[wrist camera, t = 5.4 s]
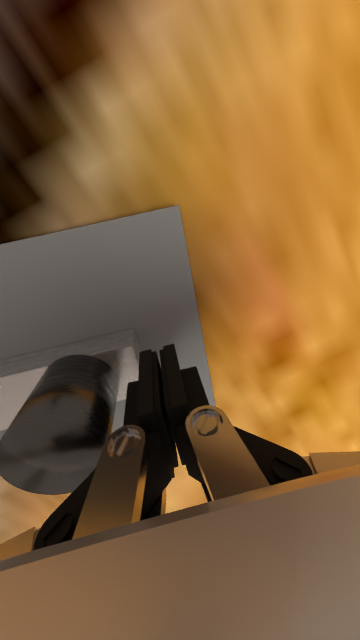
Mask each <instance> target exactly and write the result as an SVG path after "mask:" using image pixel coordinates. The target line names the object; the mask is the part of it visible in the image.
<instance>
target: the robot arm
mask: <svg viewBox="0 0 360 640" xmlns="http://www.w3.org/2000/svg"><path fill="white" fill-rule="evenodd" d="M159 352H160V362H161V366H160V363H159V359H158V356H157V352H156V351H154V352H152V350H151V349H149V350H145V351H141V352H140V353H139V374H138V380H137V381H133V382H129V383H128V385H127V394H126V403H125V413H124V422H123V426H122V427H120V428H119V429H117V430H115V431H114V432H113V433H112V434H111V435H110V436H109V437H108V438H107V440H106V442H105V444H104V446H103V449H102V452H101V455H100V458H99V461H98V464H97V467H96V468H95V470H94V471H93V472H92V473H91V474H90V475H89V476H88V477H87V478H86V479H85V480H84V481H83V482H82V483H81V484H80V485H79V486H78V487H77V488H76V489H75V490H74V491H73V492H72V493H71V494H70V496H69V497H68V498H67V499H66V500H65V501H64V502H63V503H62V504H61V505H60V506H59V507H58V508H57V509H56V510H55V511H54V512H53V513H52V514H51V515H50V516H49V518H48V519H47V520H46V521H45V522H44V524H43V525H42V527H41V528H39V529H37V528H36V527H33V528H31V529H29V530H27V531H25V532H23V533H21V534H19V535H17V536H15V537H14V538H12V539H10V540H8V541H6V542H4V543H2V544H0V640H360V452H325V453H309V456H306V457H301V456H300V455H298V454H296V453H295V452H293V451H291V450H288V449H286V448H284V447H281V446H279V445H277V444H274V443H272V442H270V441H267V440H265V439H263V438H260V437H258V436H255V435H253V434H251V433H248V432H246V431H244V430H241V429H239V428H237V427H234V426H233V425H232V424H231V422H230V420H229V419H228V417H227V416H226V414H225V413H224V412H223V411H222V410H221V409H219V408H218V407H215V406H211V405H209V402H208V399H207V396H206V393H205V390H204V387H203V384H202V381H201V379H200V376H199V373H198V370H197V367H196V366H194V367H190V368H186V369H182V370H180V366H179V362H178V358H177V354H176V350H175V346H174V344H170V345H166V346H163V349H162V350H159ZM175 443H176V444H175ZM176 446H177V449H178V453H179V456H180V459H181V463H182V465H186V467H187V471H188V474H189V475H190V476H191V477H193V478H195V479H196V480H198V481H199V482H200V483H201V487H202V490H203V493H204V495H205V498H206V501H207V503H204V504H200V505H196V506H193V507H189V508H185V509H182V510H178V511H174V512H171V513H167V514H165V510H166V489H165V488H166V487H167V485H168V484H169V482H170V481H171V478H174V477H175V476H174V467H178V459H177V451H176Z"/></svg>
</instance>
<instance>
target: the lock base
mask: <svg viewBox="0 0 360 640" xmlns="http://www.w3.org/2000/svg"><path fill="white" fill-rule="evenodd" d="M131 328H134V329H135V332H136V335H137V339H138V342H139V345H140V348H141V351H145V350H149V349H151V350H152V352H154V351H156V352H157V356H158V359H159V363H160V366H161V362H160V352H159V350H162V349H163V346H166V345H170V344H174V346H175V350H176V354H177V358H178V362H179V366H180V370H182V369H186V368H190V367H194V366H196V367H197V370H198V373H199V376H200V379H201V381H202V384H203V387H204V390H205V393H206V396H207V399H208V402H209V405H211V406H215V400H214V395H213V389H212V384H211V378H210V373H209V367H208V362H207V356H206V351H205V345H204V340H203V334H202V329H201V323H200V318H199V312H198V307H197V301H196V296H195V290H194V285H193V279H192V274H191V268H190V263H189V257H188V252H187V246H186V241H185V235H184V230H183V224H182V219H181V213H180V208H179V205H177V206H173V207H168V208H163V209H159V210H154V211H150V212H145V213H141V214H136V215H132V216H127V217H123V218H118V219H114V220H109V221H104V222H100V223H95V224H91V225H86V226H82V227H77V228H73V229H68V230H64V231H59V232H55V233H50V234H46V235H41V236H36V237H32V238H27V239H23V240H18V241H14V242H9V243H5V244H0V360H2V359H6V358H11V357H15V356H19V355H23V354H27V353H31V352H36V351H40V350H44V349H48V348H52V347H56V346H60V345H65V344H69V343H73V342H77V341H81V340H85V339H90V338H94V337H98V336H102V335H106V334H110V333H115V332H119V331H123V330H127V329H131ZM125 403H126V399H125V400H121V401H117V402H116V408H115V414H114V421H113V427H112V433H113V432H114V431H115V430H117V429H119V428H120V427H122V426H123V422H124V413H125ZM215 407H216V406H215ZM6 430H7V429H6ZM6 430H2V431H0V439H1V438H2V436H3V435H4V433H5V432H6ZM112 433H111V434H112ZM0 476H1V475H0Z"/></svg>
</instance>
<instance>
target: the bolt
mask: <svg viewBox="0 0 360 640" xmlns="http://www.w3.org/2000/svg"><path fill="white" fill-rule="evenodd" d="M140 352H141V348H140V345H139V342H138V339H137V335H136V332H135V329H134V328H131V329H127V330H123V331H119V332H115V333H110V334H106V335H102V336H98V337H94V338H90V339H85V340H81V341H77V342H73V343H69V344H65V345H60V346H56V347H52V348H48V349H44V350H40V351H36V352H31V353H27V354H23V355H19V356H15V357H11V358H6V359H2V360H0V431H2V430H6V429H7V430H6V432H5V433H4V435H3V436H2V438H1V439H0V475H1V476H2V477H3V478H4V479H5V480H6V481H7V482H9V483H10V484H12V485H13V486H15V487H17V488H20V489H22V490H25V491H28V492H32V493H37V494H46V495H56V494H66V493H70V492H73V491H74V490H75V489H76V488H77V487H78V486H79V485H80V484H81V483H82V482H83V481H84V480H85V479H86V478H87V477H88V476H89V475H90V474H91V473H92V472H93V471H94V470H95V468H96V467H97V464H98V461H99V458H100V455H101V452H102V449H103V446H104V444H105V442H106V440H107V438H108V437H109V436H110V435H111V433H112V427H113V421H114V414H115V408H116V402H117V401H121V400H125V399H126V394H127V385H128V383H129V382H133V381H137V380H138V374H139V353H140Z"/></svg>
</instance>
